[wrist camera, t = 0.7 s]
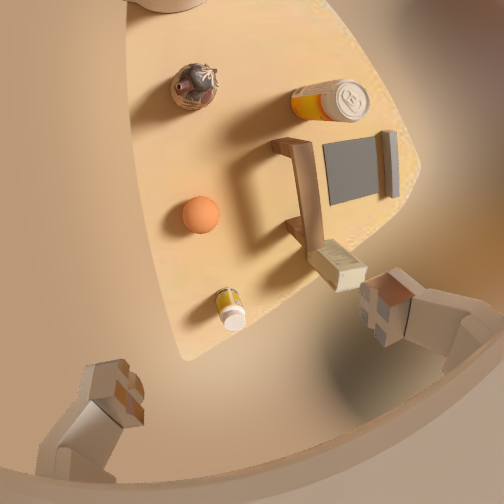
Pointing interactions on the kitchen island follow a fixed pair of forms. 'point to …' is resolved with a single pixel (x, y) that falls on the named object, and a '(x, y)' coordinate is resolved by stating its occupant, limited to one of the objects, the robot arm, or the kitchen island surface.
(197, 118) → the kitchen island surface
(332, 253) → the skincare box
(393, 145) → the stopper
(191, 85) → the figurine
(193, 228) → the ball
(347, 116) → the beer can
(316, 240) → the bridge
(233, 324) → the supplement bottle
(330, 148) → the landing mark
